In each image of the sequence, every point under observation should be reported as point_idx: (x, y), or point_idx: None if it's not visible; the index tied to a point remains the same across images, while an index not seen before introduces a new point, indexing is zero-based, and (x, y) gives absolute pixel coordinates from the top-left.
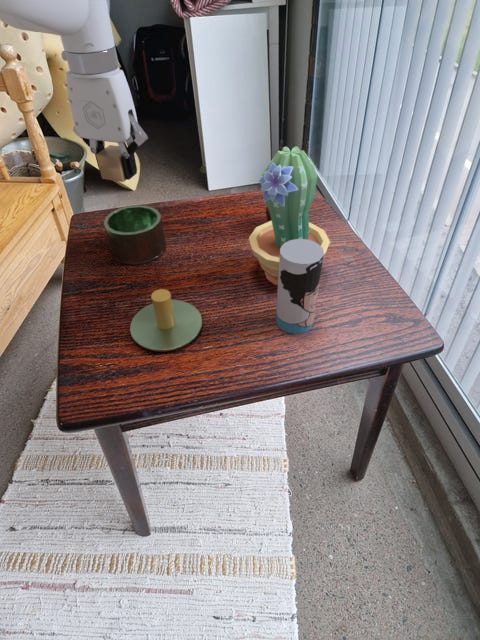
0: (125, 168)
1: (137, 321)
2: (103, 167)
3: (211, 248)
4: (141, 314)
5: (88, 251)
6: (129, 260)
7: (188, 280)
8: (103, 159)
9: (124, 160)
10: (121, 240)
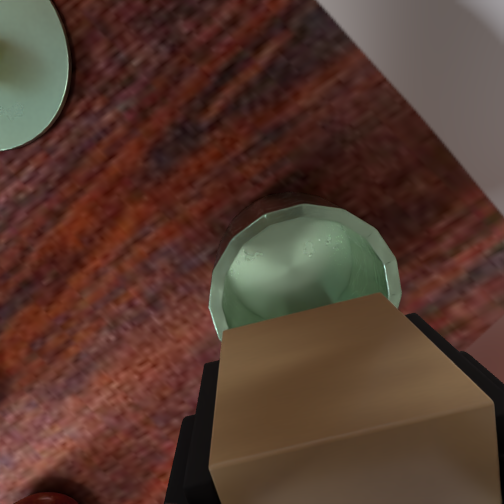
0: (196, 414)
1: (35, 8)
2: (377, 340)
3: (135, 363)
4: (50, 39)
5: (406, 180)
6: (257, 200)
7: (85, 234)
8: (387, 392)
9: (190, 476)
10: (273, 207)
